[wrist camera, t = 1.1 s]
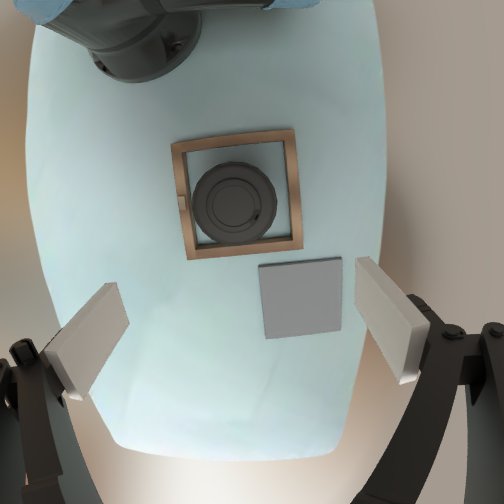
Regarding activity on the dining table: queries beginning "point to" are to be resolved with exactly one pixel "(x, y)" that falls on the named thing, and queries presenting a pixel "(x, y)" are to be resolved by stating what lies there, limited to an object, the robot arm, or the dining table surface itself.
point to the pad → (301, 297)
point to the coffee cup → (234, 203)
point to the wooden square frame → (185, 202)
